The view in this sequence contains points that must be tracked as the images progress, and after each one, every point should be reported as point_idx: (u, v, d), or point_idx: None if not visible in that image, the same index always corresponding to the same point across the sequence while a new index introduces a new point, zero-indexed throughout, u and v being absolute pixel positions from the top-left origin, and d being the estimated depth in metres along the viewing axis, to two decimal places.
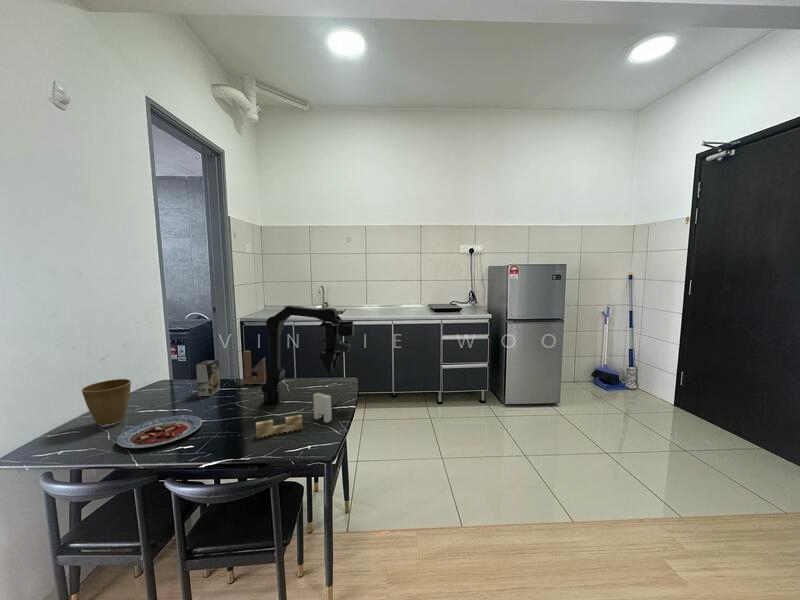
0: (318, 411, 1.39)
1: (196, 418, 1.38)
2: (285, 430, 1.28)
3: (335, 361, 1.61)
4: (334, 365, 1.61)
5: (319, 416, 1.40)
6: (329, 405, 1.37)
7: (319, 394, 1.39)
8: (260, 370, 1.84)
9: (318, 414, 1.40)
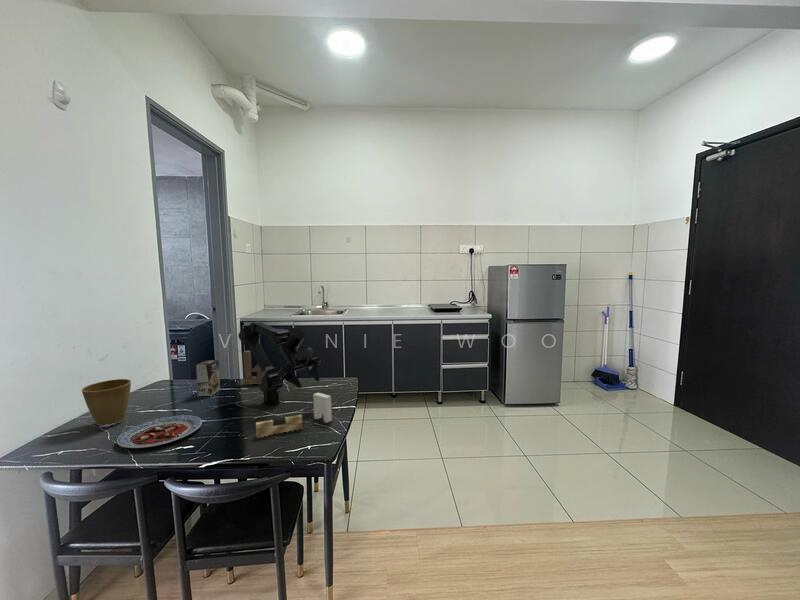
0: (318, 411, 1.39)
1: (196, 418, 1.38)
2: (285, 430, 1.28)
3: (315, 374, 1.47)
4: (316, 379, 1.46)
5: (319, 416, 1.40)
6: (329, 405, 1.37)
7: (319, 394, 1.39)
8: (260, 370, 1.84)
9: (318, 414, 1.40)
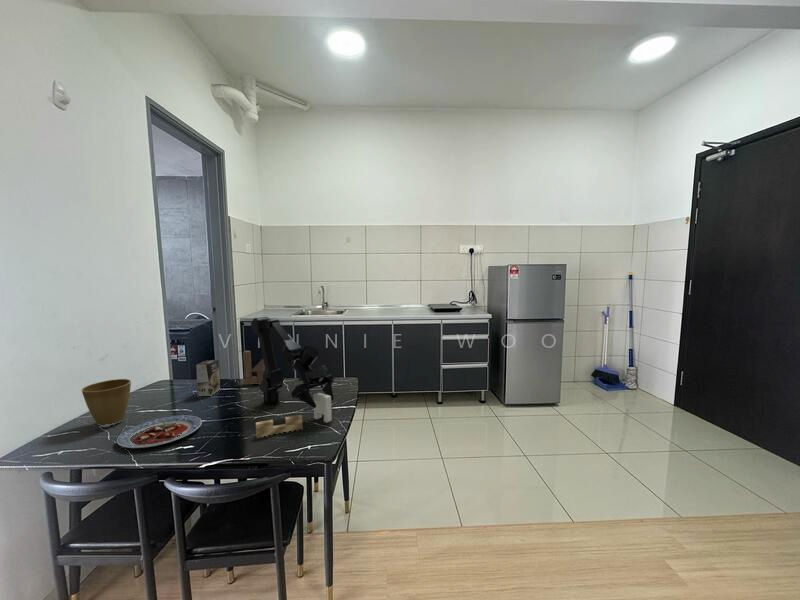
0: (318, 411, 1.39)
1: (196, 418, 1.38)
2: (285, 430, 1.28)
3: (329, 393, 1.43)
4: (331, 397, 1.42)
5: (319, 416, 1.40)
6: (329, 405, 1.37)
7: (319, 394, 1.39)
8: (260, 370, 1.84)
9: (318, 414, 1.40)
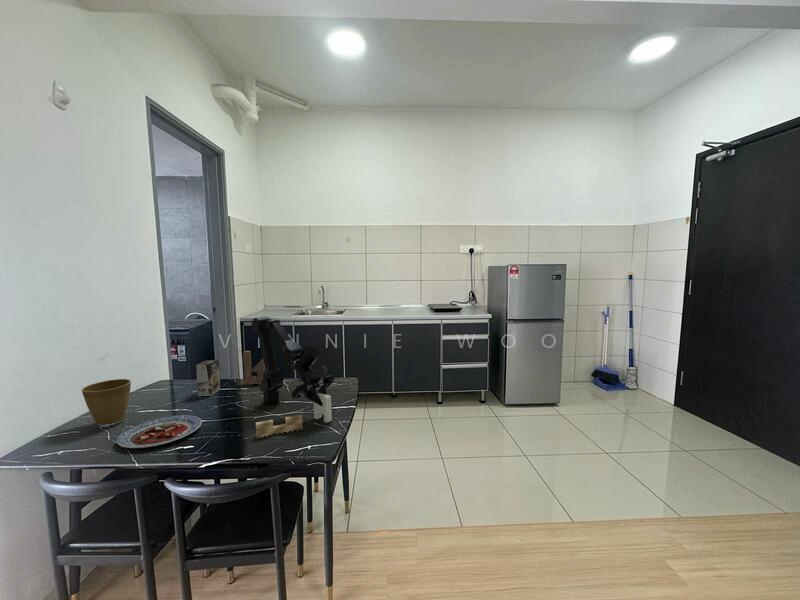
0: (318, 411, 1.39)
1: (196, 418, 1.38)
2: (285, 430, 1.28)
3: None
4: None
5: (319, 416, 1.40)
6: (329, 405, 1.37)
7: (319, 394, 1.39)
8: (260, 370, 1.84)
9: (318, 414, 1.40)
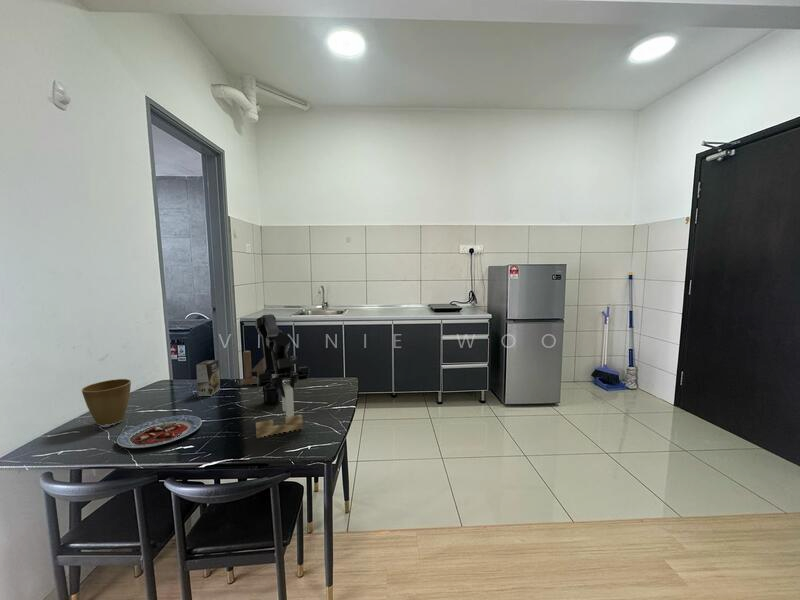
0: (283, 403, 1.29)
1: (196, 418, 1.38)
2: (285, 430, 1.28)
3: None
4: None
5: None
6: (290, 398, 1.26)
7: (286, 385, 1.30)
8: (260, 370, 1.84)
9: None
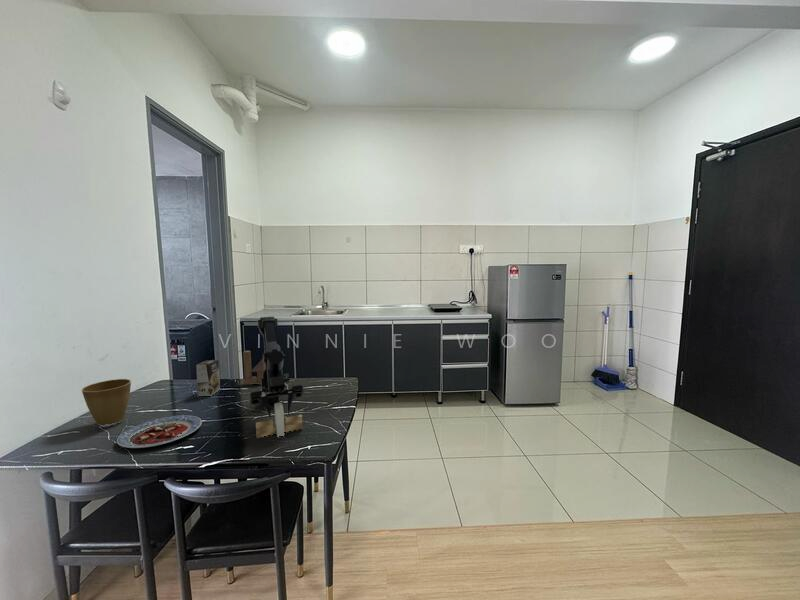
0: (275, 423, 1.29)
1: (196, 418, 1.38)
2: (285, 430, 1.28)
3: None
4: None
5: None
6: (281, 419, 1.25)
7: (278, 404, 1.29)
8: (260, 370, 1.84)
9: None
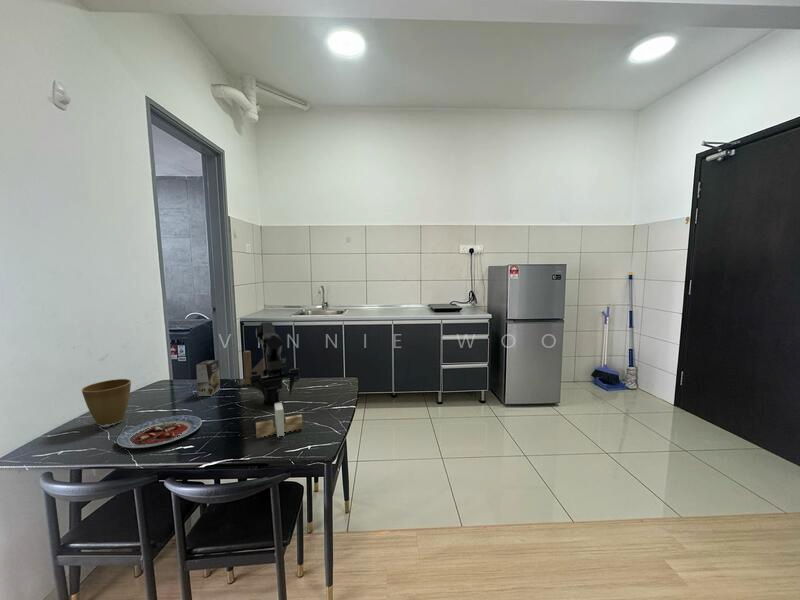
0: (275, 423, 1.29)
1: (196, 418, 1.38)
2: (285, 430, 1.28)
3: (289, 387, 1.38)
4: None
5: None
6: (281, 419, 1.25)
7: (278, 404, 1.29)
8: (260, 370, 1.84)
9: None
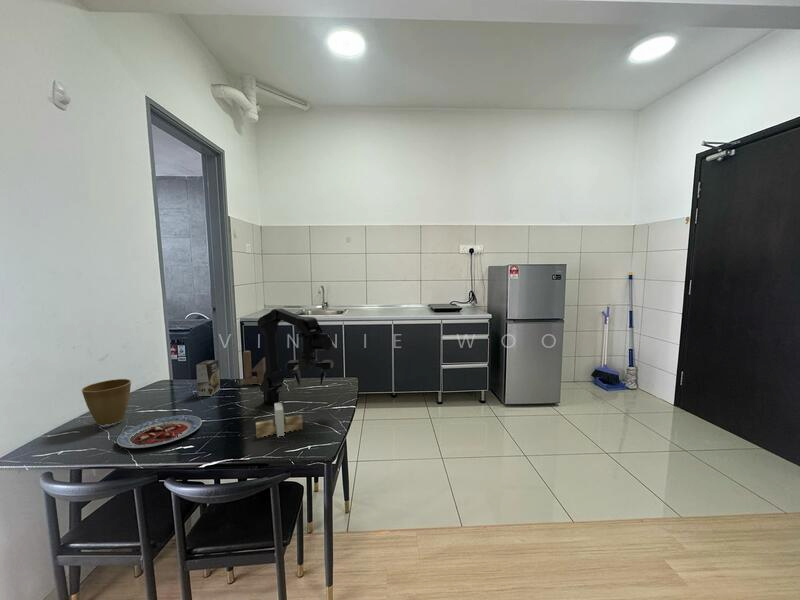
0: (275, 423, 1.29)
1: (196, 418, 1.38)
2: (285, 430, 1.28)
3: None
4: None
5: None
6: (281, 419, 1.25)
7: (278, 404, 1.29)
8: (260, 370, 1.84)
9: None
